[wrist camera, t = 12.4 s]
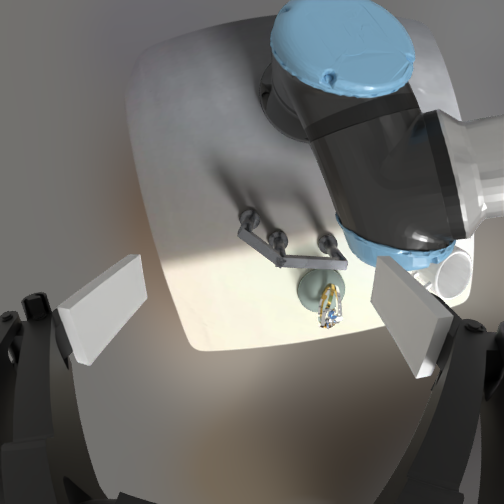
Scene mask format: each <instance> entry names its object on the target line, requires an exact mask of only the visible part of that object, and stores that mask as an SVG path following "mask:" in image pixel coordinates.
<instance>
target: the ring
mask: <svg viewBox="0 0 504 504" xmlns="http://www.w3.org/2000/svg"><path fill="white" fill-rule="evenodd" d="M329 291H330V293H329ZM334 292H335V298H336V310H337V314H334V312H335V313H336V310H335V308H333V309H330V305H331V302H332V299H333V295H334ZM328 293H329V298H328V303H327V305H326V308H325V309H324V311H323V305H324V302H325V300H326V299H327V295H328ZM327 311H329V312H328V314H327V317H326V313H327ZM322 312H323V313H322ZM335 319H336V320H335ZM341 319H342V305H341V295H340V290H339V287H338V286H337V285H335V284H332V283H329V284H328V285H327V286H326V287H325V289H324V291H323V292H322V293H321V295H320V300H319V303H318V307H317V312H316V322H317V325H318V327H321V328H327V329H329V328H331V327H333V326H334V325H335V324H336V323H339V322H340V321H341Z"/></svg>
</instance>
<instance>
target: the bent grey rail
mask: <svg viewBox="0 0 504 504" xmlns="http://www.w3.org/2000/svg"><path fill="white" fill-rule="evenodd" d="M259 222H260V217H259V215H258V213H257V212H256V211H254V210H246V211H244V212H243V213H242V215H241V217H240V223H241V227H240V229H239V231H238V235H237V236H238V237H239V238H240V239H242V240H243V241H245V242H246V243H247V244H249V245H250V246H251V247H253V248H254V249H255V250H257V251H258V252H259V253H261V254H262V255H263V256H265V257H266V258H267V259H269V260H270V261H271V262H273V263H274V264H275V267H279V268H281V267H291V268H311V269H332V270H346V269H347V265H348V261H347V260H346V258H345V257H344V256H343V255H342V253H341V252H340V251H339V250H338V248H337V245H338V244H337V240H336V239H335V238H334V237H333V236H332V235H324V236H323V237H321V238H320V240H319V243H318V245H319V248H320V250H321V251H322V252H323V253H325V254H328V255H329V256H330V257H316V256H298V255H286V253H285V248H286V247H287V245H288V238H287V236H286V235H285V234H284V233H283V232H280V231H277V232H274V233H272V234H271V235H270V237H269V244H267V243H266V242H265V241H263V240H262V239H261V238H259V237H258V236H257V235H255V234H254V233H253V232H252V230H253V229H255V228H256V227H257V226H258V225H259Z"/></svg>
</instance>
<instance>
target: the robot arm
mask: <svg viewBox="0 0 504 504" xmlns="http://www.w3.org/2000/svg"><path fill="white" fill-rule="evenodd" d="M270 40H271V42H270V46H271V48H272V63H271V64H270V65H269V66H268V67H267V69H266V71H265V72H264V74H263V77H262V79H261V83H260V100H261V105H262V108H263V111H264V113H265V115H266V117H267V118H268V120H269V121H270V123H271V124H272V125H273V126H274V127H275V128H276V129H277V130H278V131H280V132H281V133H283V134H284V135H286V136H288V137H289V138H292V139H294V140H297V141H300V142H305V143H310V146H311V148H312V150H313V153H314V155H315V158H316V160H317V163H318V165H319V168H320V170H321V173H322V175H323V178H324V180H325V183H326V186H327V188H328V191H329V194H330V196H331V199H332V202H333V205H334V207H335V210H336V214H335V215H336V219H337V221H338V224H339V225H340V226H341V228H342V229H343V232H344V235H345V237H346V240H347V243H348V245H349V247H350V249H351V251H352V252H353V253H354V254H355V255H356V256H357V257H358V258H359V259H360V260H361V261H363V262H364V263H366V264H368V265H371V266H373V267H376V270H375V277H374V283H373V290H372V296H371V301H370V302H371V303H372V305H373V306H374V308H375V309H376V311H377V313H378V314H379V316H380V317H381V319H382V321H383V322H384V324H385V326H386V327H387V329H388V331H389V332H390V334H391V335H392V337H393V339H394V341H395V342H396V344H397V346H398V347H399V349H400V351H401V353H402V354H403V356H404V358H405V360H406V361H407V363H408V365H409V367H410V369H411V370H412V372H413V374H414V376H415V378H420V377H426V376H430V375H432V372H433V370H434V368H435V366H436V363H437V365H438V366H439V368H440V369H441V370H440V372H439V374H438V376H437V378H436V380H435V383H434V385H433V387H432V389H431V390H432V393H431V396H430V398H429V401H428V404H427V406H426V408H425V411H424V413H423V416H422V418H421V420H420V422H419V425H418V427H417V429H416V431H415V433H414V435H413V437H412V439H411V442H410V443H409V445H408V448H407V449H406V451H405V453H404V455H403V457H402V459H401V460H400V462H399V464H398V466H397V468H396V469H395V471H394V473H393V474H392V476H391V478H390V479H389V481H388V482H387V484H386V486H385V487H384V488H383V490H382V492H381V493H380V495H379V496H378V497H377V499H376V500H375V502H374V503H373V504H463V501H464V495H463V494H462V493H459V486H460V483H461V480H462V477H463V475H464V472H465V468H466V466H467V462H468V459H469V456H470V452H471V449H472V445H473V441H474V437H475V433H476V428H477V424H478V419H479V413H480V419H481V447H482V450H481V477H480V490H479V498H478V504H504V321H503V322H501V323H500V325H499V327H498V330H497V332H487V331H486V328H485V327H484V326H483V325H482V324H481V323H479V322H478V321H475V320H471V319H463V320H462V319H461V318H460V317H459V316H458V315H457V314H456V313H455V312H454V311H453V310H452V309H451V308H450V307H449V306H448V305H447V304H445V302H444V301H443V300H442V299H441V298H440V297H438V296H436V295H434V294H432V293H430V292H429V291H428V290H427V289H426V288H425V287H424V286H423V285H421V284H420V283H419V282H418V281H417V280H416V279H415V278H414V277H413V276H412V275H411V274H409V273H408V272H407V271H413V270H420V269H424V268H428V267H429V266H430V263H434V264H438V263H440V262H442V261H443V260H445V259H446V258H447V257H448V256H449V255H450V254H451V253H452V251H453V249H454V245H455V243H456V240H458V239H467V238H471V236H472V235H473V233H474V232H475V230H476V229H477V227H478V226H479V224H480V223H481V222H482V221H483V220H484V219H485V218H493V217H501V216H504V115H497V116H491V117H486V118H480V119H475V120H470V121H465V122H463V121H458V120H457V119H455V118H453V117H452V116H450V115H449V114H447V113H445V112H444V111H442V110H440V109H437V110H434V111H430V112H426V113H422V112H421V110H420V107H419V105H418V102H417V100H416V97H415V95H414V93H413V91H412V88H411V86H410V84H409V82H408V80H409V79H410V78H411V75H412V72H413V62H414V61H415V51H414V47H413V44H412V41H411V39H410V36H409V35H408V33H407V31H406V30H405V28H404V27H403V26H402V24H401V23H400V22H399V21H398V20H397V19H396V18H395V17H394V16H393V15H392V14H391V13H390V12H388V11H387V10H386V9H384V8H383V7H381V6H380V5H378V4H377V3H375V2H373V1H371V0H290V1H289V2H288V3H287V4H285V5H284V6H283V7H282V9H281V10H280V11H279V13H278V15H277V17H276V19H275V22H274V26H273V29H272V32H271V37H270ZM146 299H147V293H146V287H145V281H144V276H143V270H142V262H141V256H140V255H131V254H129V255H128V256H126V257H125V258H123V259H122V260H120V261H119V262H117V263H116V264H115V265H113V266H112V267H111V268H109V269H107V270H106V271H105V272H103V273H102V274H100V275H99V276H98V277H96V278H95V279H93V280H92V281H91V282H89V283H88V284H87V285H85V286H84V287H83V288H81V289H80V290H78V291H77V292H76V293H74V294H73V295H72V296H71V297H69V298H68V299H67V300H65V301H64V302H63V303H61V304H60V305H59V306H58V307H57V309H55V310H54V311H53V312H52V311H51V308H50V305H49V302H48V299H47V295H46V294H45V293H42V292H39V293H34V294H31V295H29V296H27V297H25V298H24V299H23V300H22V302H21V303H22V306H23V309H24V312H25V315H26V318H27V321H21V320H20V318H19V315H18V312H16V311H10V312H9V311H7V312H5V313H3V314H2V315H1V316H0V504H156V503H153V502H149V501H146V500H143V499H139V498H136V497H133V496H130V495H127V494H125V493H122V492H120V493H119V495H118V498H117V499H108V498H107V497H106V495H105V494H104V492H103V491H102V489H101V487H100V486H99V483H98V481H97V478H96V475H95V472H94V469H93V466H92V463H91V460H90V456H89V453H88V449H87V446H86V442H85V438H84V434H83V429H82V425H81V421H80V416H79V411H78V406H77V400H76V394H75V388H74V381H73V373H72V364H71V361H70V358H69V355H70V354H71V353H72V352H73V353H74V355H75V358H76V360H77V362H79V363H82V364H86V365H89V366H90V365H91V364H92V363H93V361H94V360H95V359H96V358H97V357H98V355H99V354H100V353H101V352H102V350H103V349H104V348H105V347H106V346H107V344H108V343H109V342H110V341H111V340H112V338H113V337H114V336H115V335H116V334H117V333H118V331H119V330H120V329H121V328H122V327H123V326H124V324H125V323H126V322H127V321H128V320H129V318H130V317H131V316H132V315H133V314H134V313H135V312H136V311H137V309H138V308H139V307H140V306H141V305H142V304H143V303H144V301H145V300H146ZM8 350H9V352H10V354H11V356H12V358H13V361H12V363H11V361H10V359H9V356H8Z"/></svg>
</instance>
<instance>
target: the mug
mask: <svg viewBox="0 0 504 504" xmlns="http://www.w3.org/2000/svg"><path fill="white" fill-rule="evenodd" d="M472 268H473V267H472V260H471V258H470V255H469V254H468V253H467V252H466V251H464V250H462V249H460V248H459V247H457V246H455V245H454V249H453V251H452V253H451V254H450V255H449V256H448V257H447V258H446V259H445V260H443V261H442V262H440V263H438V264H434V263H430V266H429V267H428V268H424V269H420V270H413V271H412V274H411V275H412V276H413V277H414V278H416V277H418V278H419V279H420V280H421V281H422V282H423V283H425V285H424V287H425V288H426V289H427V290H428V289H429V288H430V289H431V290H432V291H434V292H435V293H436V294H437V295H438V296H439V297H441V298H442V299H446V300H450V299H453V298H455V297H457V296H458V295H460V294H461V293H462V292H463V291H464V290H465V288H466V287H467V285H468V283H469V281H470V278H471V275H472Z"/></svg>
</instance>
